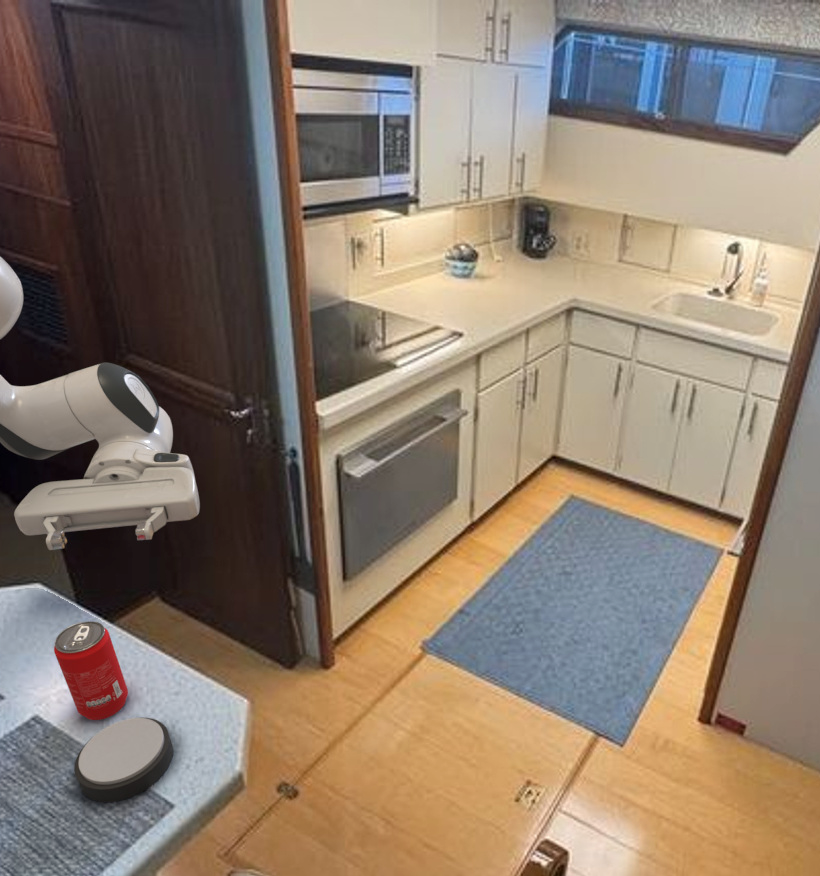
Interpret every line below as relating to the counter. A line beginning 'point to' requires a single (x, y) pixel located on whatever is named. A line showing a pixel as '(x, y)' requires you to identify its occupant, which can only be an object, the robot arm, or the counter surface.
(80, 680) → the beverage can
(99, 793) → the scale
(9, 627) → the counter surface
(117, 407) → the robot arm
